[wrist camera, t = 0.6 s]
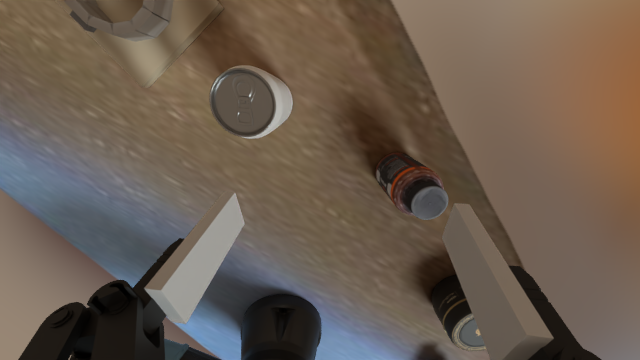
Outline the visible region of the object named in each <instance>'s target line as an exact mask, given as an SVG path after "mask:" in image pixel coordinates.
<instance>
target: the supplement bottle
mask: <svg viewBox="0 0 640 360" xmlns="http://www.w3.org/2000/svg"><path fill="white" fill-rule="evenodd" d="M376 179H377V181H378V183H379V185H380V186H381V187H382V189H383V190H384V191H385V192H386V194H387V195H388V196H389V198H390V199H391V200H392V202H393V203H394V204H395V206H396V207H397V208H398V209H399V210H400V211H402V212H403V213H406V214H408V215H413V216H414V215H415V216H416V217H418V218H420V219H423V220H429V219H434V218H436V217H438V216H439V215H441V214H442V213H443V212H444V210H445V209H446V207H447V205H448V196H447V193H446V192H445V190H444V188H443V183H442V180H441V179H440V177H439V176H438V175H437V174H436V173H435V172H434V171H432V170H431V169H429V168H427V167H426V166H424V165H423V164H421V163H419V162H418V161H416V160H414V159H413V158H411V157H410V156H408V155H406V154H403V153H391V154H388V155H387V156H385V157H384V158H382V159H381V160H380V162H379V163H378V165H377V167H376Z"/></svg>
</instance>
